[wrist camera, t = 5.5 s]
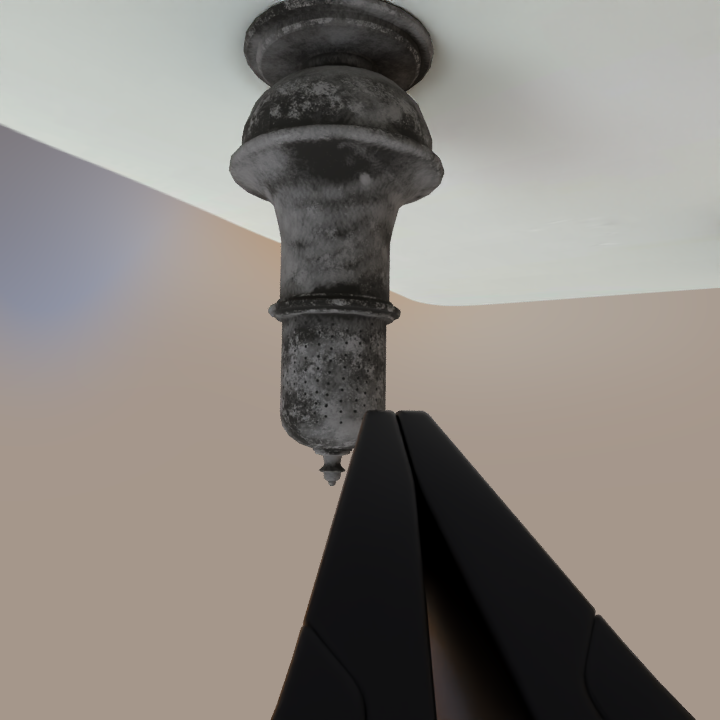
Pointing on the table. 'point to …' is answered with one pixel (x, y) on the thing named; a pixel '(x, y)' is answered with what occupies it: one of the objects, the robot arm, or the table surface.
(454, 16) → the table surface
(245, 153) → the grey turned piece
